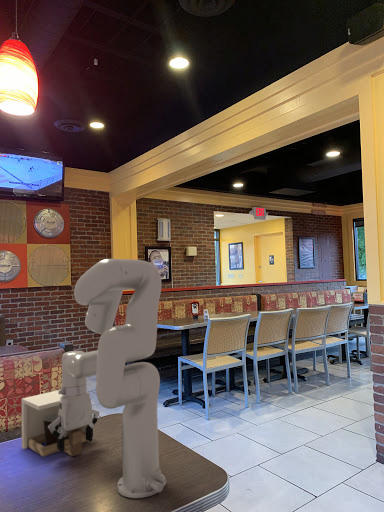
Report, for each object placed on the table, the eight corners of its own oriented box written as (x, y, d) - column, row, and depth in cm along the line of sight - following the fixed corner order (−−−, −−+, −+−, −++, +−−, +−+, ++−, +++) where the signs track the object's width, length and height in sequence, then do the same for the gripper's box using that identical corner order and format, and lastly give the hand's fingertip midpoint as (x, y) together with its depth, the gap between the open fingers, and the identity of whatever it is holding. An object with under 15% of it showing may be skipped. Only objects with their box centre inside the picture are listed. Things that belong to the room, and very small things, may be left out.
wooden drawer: (98, 447, 123) (98, 424, 123) (54, 464, 112) (54, 439, 113) (69, 433, 136) (69, 413, 137) (28, 446, 126) (28, 424, 126)
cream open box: (90, 441, 129) (89, 393, 131) (39, 459, 116) (38, 406, 118) (71, 431, 139) (70, 387, 140) (21, 447, 126) (21, 398, 127)
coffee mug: (50, 455, 119) (50, 423, 120) (38, 448, 125) (38, 417, 125) (83, 443, 127) (82, 413, 128) (70, 437, 133) (70, 409, 134)
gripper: (53, 398, 111) (54, 458, 110) (104, 386, 124) (105, 439, 122) (43, 394, 117) (43, 451, 115) (92, 383, 129) (93, 434, 127)
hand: (75, 445), depth 118 cm, fingers open, 9 cm apart
